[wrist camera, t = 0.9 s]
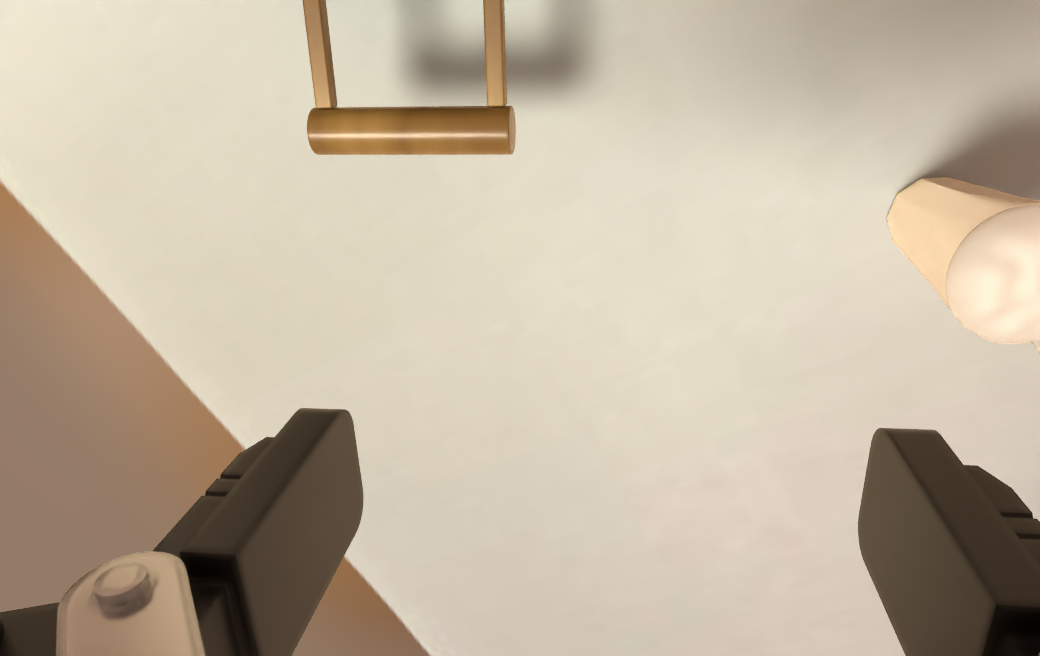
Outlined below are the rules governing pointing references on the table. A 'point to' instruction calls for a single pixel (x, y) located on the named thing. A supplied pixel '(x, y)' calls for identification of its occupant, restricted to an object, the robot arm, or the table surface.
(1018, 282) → the milkshake
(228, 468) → the robot arm
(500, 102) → the drawer
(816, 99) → the table surface
